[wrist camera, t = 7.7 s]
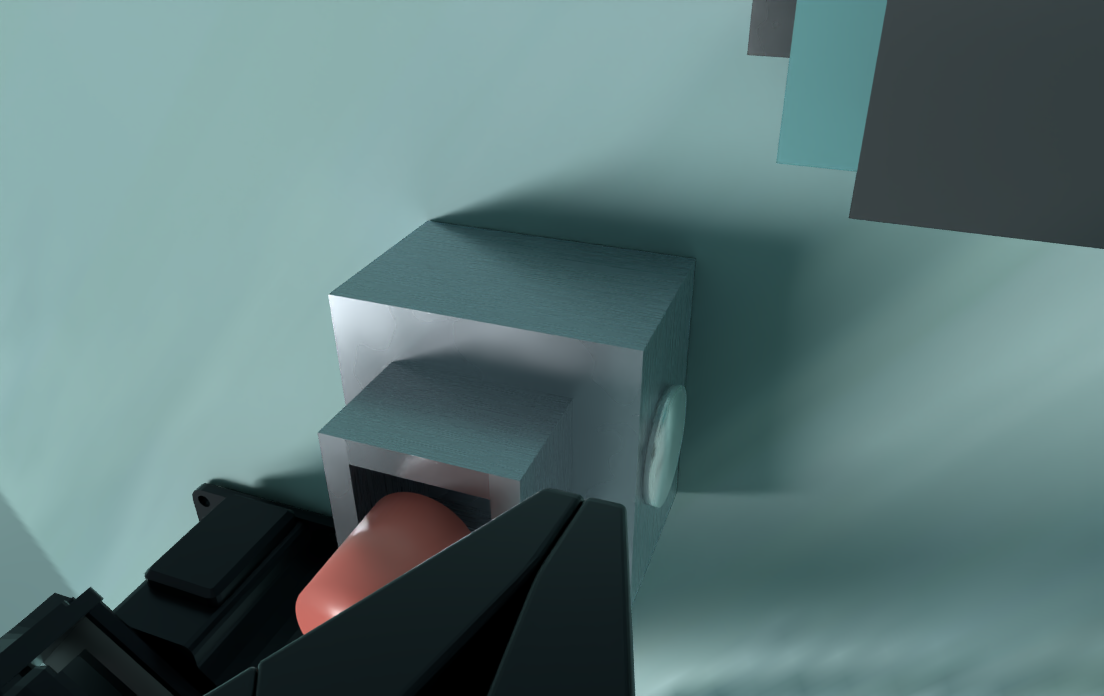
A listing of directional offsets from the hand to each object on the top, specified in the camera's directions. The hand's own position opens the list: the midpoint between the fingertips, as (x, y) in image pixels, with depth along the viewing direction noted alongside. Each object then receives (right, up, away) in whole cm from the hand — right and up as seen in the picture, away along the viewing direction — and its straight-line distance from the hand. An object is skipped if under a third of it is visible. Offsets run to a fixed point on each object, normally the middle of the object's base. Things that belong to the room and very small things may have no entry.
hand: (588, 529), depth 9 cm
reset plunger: (-3, -2, +8) cm, 9 cm away
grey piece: (0, +1, +14) cm, 14 cm away
